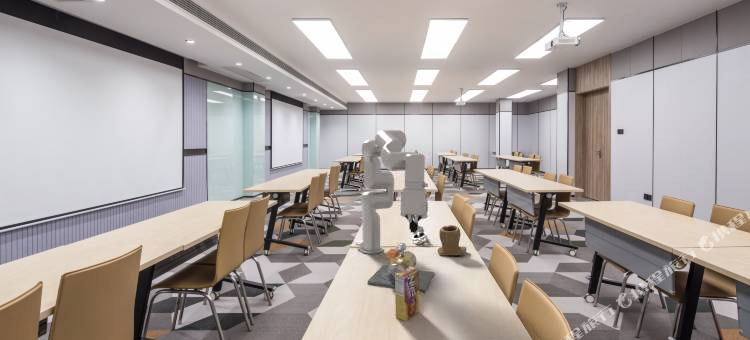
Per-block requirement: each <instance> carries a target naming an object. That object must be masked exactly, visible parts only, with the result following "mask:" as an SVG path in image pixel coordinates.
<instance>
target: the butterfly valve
mask: <svg viewBox="0 0 750 340" xmlns="http://www.w3.org/2000/svg"><path fill="white" fill-rule="evenodd" d="M413 220H415V215H413ZM412 234H413V235H412V236H411V240H412V242H413V244H415V245H417V244H419V245H420V244H421V245H422V244H423V243H424V242H426V241H427V240H428V239H429V237H428V234H427V233H426V232H425V229H424V227H423V226H421V225H418V230H416V232H415V233H412Z"/></svg>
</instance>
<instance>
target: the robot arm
mask: <svg viewBox="0 0 750 340" xmlns="http://www.w3.org/2000/svg"><path fill="white" fill-rule="evenodd" d="M406 144H407V135H406V134H405V132H403V131H402V130H399V129H398V130H396V129H393V130H392V129H391V130H390V129H387V130H386V129H385V130H379V131H378V132H377V133H376V134H375V136H374V139H369V140H368V139H367V140H364V142H363V143H362V145H361V156H362V158H363V164H364V165H363V166H364V167H363V168H364V169H363V171H364V172H363V185H364V188H365V189H367V190H371V191H366V192H363V193H362V194H361V195H360V207H361V214H362V217H361V218H362V219H361V221H362V229H361V231H362V240H361V241H360V240H356V241H355V245H356V246H359V252H361V253H363V254H369V255H372V254H373V255H374V254H380V253H382V252H383V251H384V247H383V246H382V245H381V215H380V214H379V213H378V212H377V210H383V209H389V208H392V207H393V204H394V197H395V196H394V195H395V177H394V174H393V173H392V171H393V172H397V171H398V172H400V171H404V187H403V189H402V193H401V196H400V197H401V198H400V213H399V214H400V216H401V217H403V218H405V219H406V220H407V221H408V222H409V226H408V227H409V230H410V233H412V234H414V233H415V232H416V230H418V226H419V221H420V220H423V219H424V220H425V219H427V218H428V211H429V206H428V205H429V203H428V202H429V201H428V200H429V199H428V192H427V188H428V186H429V184H428V183H426V182H425V172H426V171H425V166H426V165H425V164H426V163H425V162H426V157H425V155H424V154H422V153H418V152H415V151H403V149H404V148H405V146H406ZM379 158H380V159H379ZM381 165H383V166H384V167H385V168H386V169H387V170H381ZM425 188H426V189H425ZM372 190H374V191H372ZM413 215H415V220H414V218H413Z"/></svg>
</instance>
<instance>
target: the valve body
mask: <svg viewBox="0 0 750 340" xmlns="http://www.w3.org/2000/svg"><path fill="white" fill-rule="evenodd" d="M389 259H390V260H389V261H390V262H389V263H390V264H389V265H382V266H381V267H379V268H378V270H377V271H376V272H375V273H374V274H373V275H372V276H371V277H370V278H369V279H368V280H367V285H372V286H373V285H374V286H379V287H385V288H386V287H387V288H392V289H395V274H396V273H398V272H400V271H402V270H404V269H406V268H408V267H414V268H415V266H416V265H417V261H418V260H417V257H416V255H415V253H413V252H412V251H410V250H402V251H401V252H400V253H399V256H397V257H396V258H395V259H392V258H389ZM435 274H436V273H435V271H428V270H421V269H419V293H424V294H425V293H426V292H427V290H428V288H429V286H430V284H431V282H432V280H433V279H434V276H435Z"/></svg>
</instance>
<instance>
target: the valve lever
mask: <svg viewBox="0 0 750 340" xmlns="http://www.w3.org/2000/svg"><path fill="white" fill-rule="evenodd" d="M402 250H404V251H407V244H406V243H405V242H404V243H403V242H399V243H398V245H397V246H396V247H395V248H391V249H389V250H387V252H386V258H387V259H390V258H392V259H395V258H396V257H397V256H399V253H400V252H401V251H402Z"/></svg>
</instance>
